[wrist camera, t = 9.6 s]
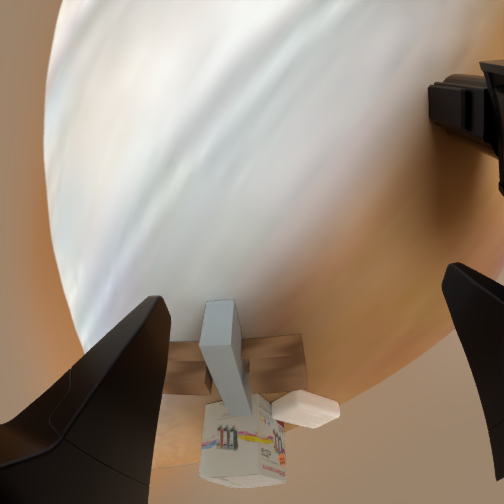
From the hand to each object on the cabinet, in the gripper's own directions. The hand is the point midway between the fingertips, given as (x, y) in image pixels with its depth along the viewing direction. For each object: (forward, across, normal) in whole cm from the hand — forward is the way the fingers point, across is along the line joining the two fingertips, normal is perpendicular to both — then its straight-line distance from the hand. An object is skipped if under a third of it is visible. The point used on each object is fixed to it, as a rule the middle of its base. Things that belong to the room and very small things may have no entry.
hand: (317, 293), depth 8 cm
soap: (+12, -2, +32) cm, 34 cm away
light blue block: (+12, +6, +17) cm, 22 cm away
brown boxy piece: (+12, +6, +17) cm, 22 cm away
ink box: (+12, +7, +32) cm, 35 cm away
